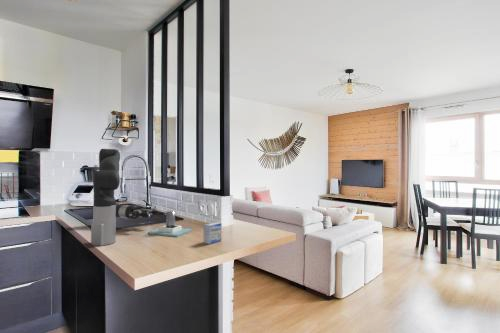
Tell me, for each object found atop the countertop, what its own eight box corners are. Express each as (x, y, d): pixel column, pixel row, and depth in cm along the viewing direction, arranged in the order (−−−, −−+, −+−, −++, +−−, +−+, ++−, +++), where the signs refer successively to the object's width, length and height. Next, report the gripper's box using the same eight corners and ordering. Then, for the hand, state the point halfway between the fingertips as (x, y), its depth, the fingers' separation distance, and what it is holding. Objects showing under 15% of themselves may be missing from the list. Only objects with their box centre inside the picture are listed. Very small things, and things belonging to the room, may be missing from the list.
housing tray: (177, 237, 140) (177, 231, 140) (147, 233, 146) (147, 228, 146) (191, 230, 153) (192, 225, 153) (164, 228, 159) (164, 222, 159)
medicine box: (209, 244, 128) (210, 225, 128) (203, 242, 131) (203, 224, 131) (221, 241, 134) (221, 223, 134) (214, 239, 137) (215, 221, 137)
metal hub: (171, 231, 147) (171, 212, 147) (164, 230, 148) (164, 212, 148) (176, 229, 151) (176, 211, 151) (169, 229, 152) (169, 210, 152)
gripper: (119, 207, 152) (144, 209, 146) (138, 203, 165) (161, 205, 160) (119, 220, 152) (144, 223, 146) (138, 216, 165) (161, 218, 160)
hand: (153, 214), depth 153 cm, fingers open, 8 cm apart
